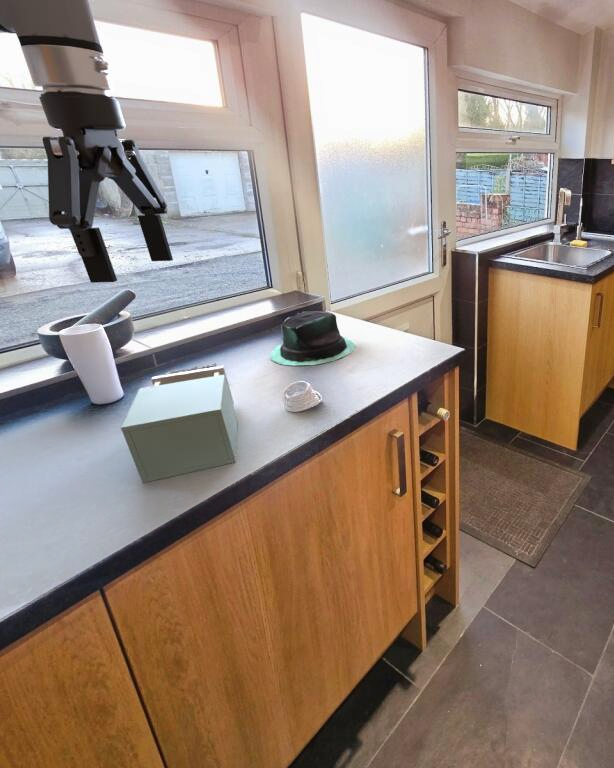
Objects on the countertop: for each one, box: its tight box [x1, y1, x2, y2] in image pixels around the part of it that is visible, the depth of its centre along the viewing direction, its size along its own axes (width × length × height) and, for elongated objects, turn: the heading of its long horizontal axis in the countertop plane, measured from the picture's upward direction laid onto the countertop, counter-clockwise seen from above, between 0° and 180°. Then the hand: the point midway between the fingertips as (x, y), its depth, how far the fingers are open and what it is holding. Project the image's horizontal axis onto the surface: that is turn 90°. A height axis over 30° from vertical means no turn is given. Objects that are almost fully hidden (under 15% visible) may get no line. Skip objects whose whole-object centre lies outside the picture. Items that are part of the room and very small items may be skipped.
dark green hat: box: [269, 310, 356, 367], centre depth 124 cm, size 15×19×20 cm
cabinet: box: [120, 375, 239, 484], centre depth 81 cm, size 15×13×10 cm
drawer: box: [151, 365, 235, 406], centre depth 89 cm, size 18×11×8 cm, turn 26°
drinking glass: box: [58, 323, 125, 405], centre depth 97 cm, size 7×7×15 cm
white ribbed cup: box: [281, 380, 324, 413], centre depth 96 cm, size 8×7×5 cm
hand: (136, 270), depth 69 cm, fingers open, 13 cm apart
